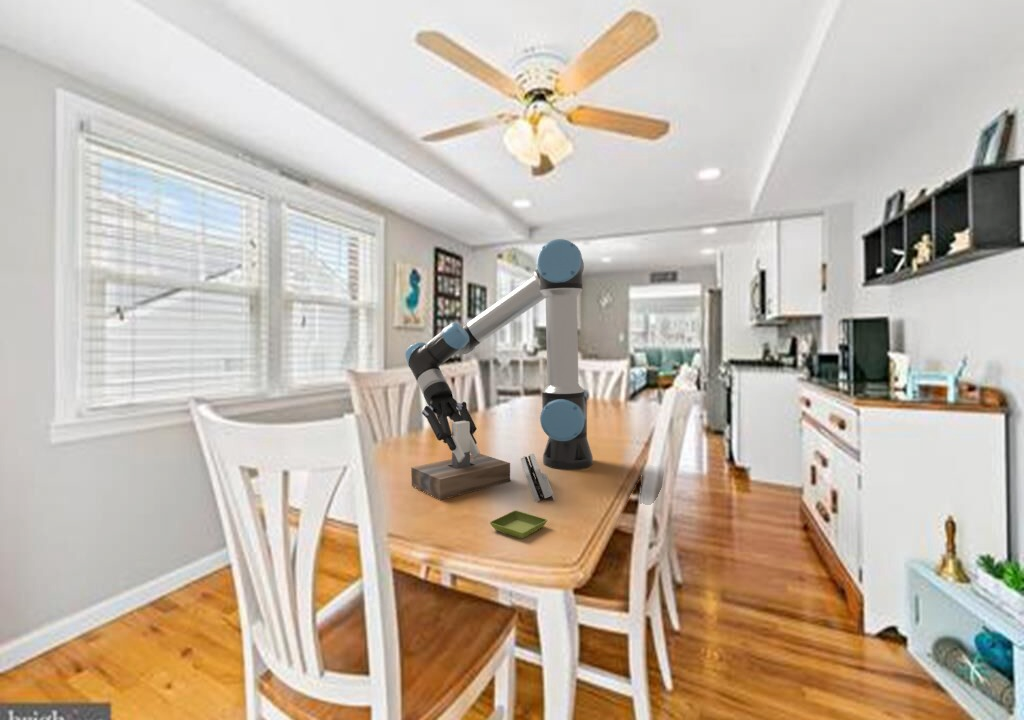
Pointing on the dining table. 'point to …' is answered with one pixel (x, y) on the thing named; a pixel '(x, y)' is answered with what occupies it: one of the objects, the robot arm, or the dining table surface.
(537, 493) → the grey curved slotted block
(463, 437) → the rail end
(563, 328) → the robot arm
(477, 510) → the dining table surface
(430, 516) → the dining table surface
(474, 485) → the post foot
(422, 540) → the dining table surface
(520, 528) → the olive green shallow tray
